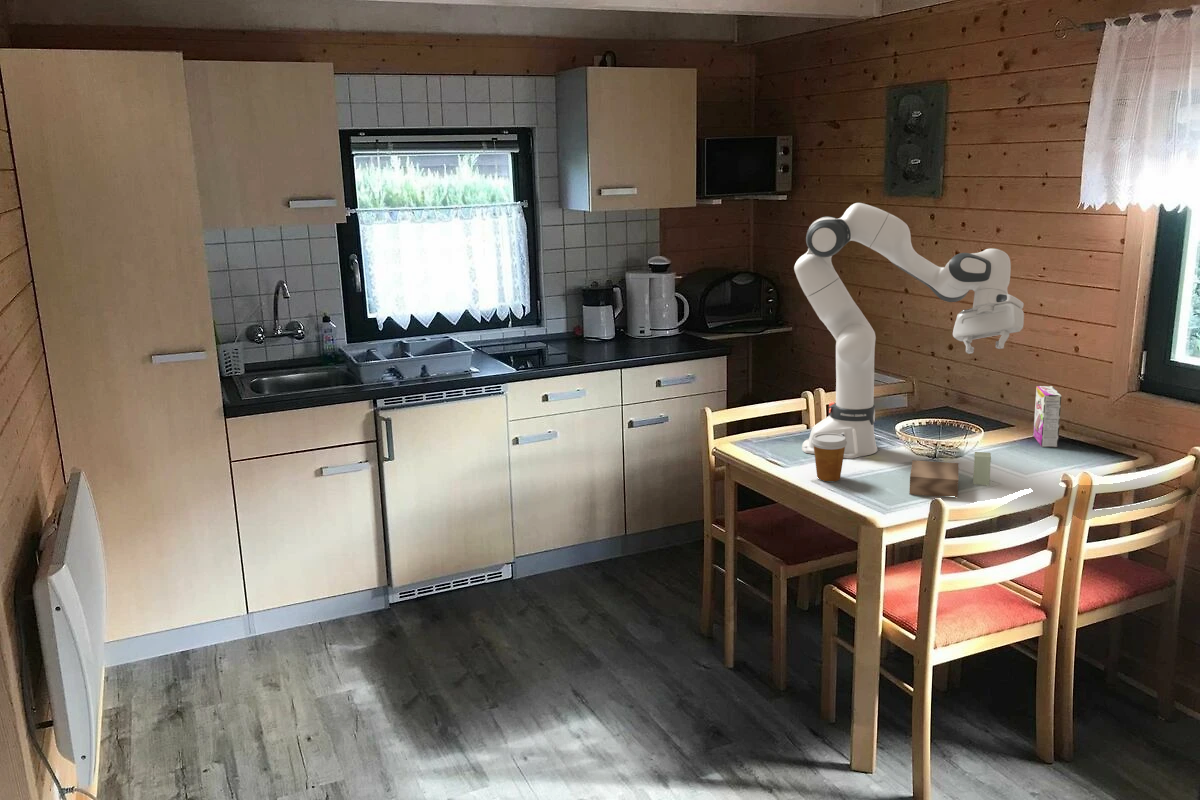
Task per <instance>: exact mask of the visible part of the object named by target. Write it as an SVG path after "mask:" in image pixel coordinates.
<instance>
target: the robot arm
mask: <svg viewBox="0 0 1200 800" xmlns="http://www.w3.org/2000/svg"><path fill="white" fill-rule="evenodd" d="M911 235H912V234H911V231H910V227H909V226H908V224H907V223H906V222H905V221H903V220H902V219H901V218H899V217H898V216H896V215H894V214H892V213H890V212H888V211H885V210H884V209H880V208H879V207H876V206H873V205H869V204H866V203H864V202H863V203H862V202H855V203H853V204H851V205H850V206H849V207H848V208H846V210H845V211H844V212H843V214H842V215H841V216H840V217H839V218H836V217H834V216H832V215H831V216H830V215H829V216H827V215H826V216H822V217H820V218H818V219H816V220H814V221H813V222H812V223H811V224H810V225H809V227H808V229H807V232H806V236H805V243H806V246H807V251H806V252H805V253H804V254H802V255H801V256H799V258H798V259H797V260H796V262H795V264H794V266H793V270H794V273H795V276H796V279H797V281H798V283H799V286H800V288H801V290H802V292H803V294H804V296H805V297H806V298H807V300H808V302H809V304H810V305H811V307H812V309H813V311H814V312H815V314H816V315H817V317H818V318H819V320H820V321H821V322H822V323H823V324H824V326H825V327H826V328H827V330H828V331H829V332H830V334H831V335H832V336H833V338H834V340H835V379H836V380H835V381H836V382H835V385H836V386H835V402H834V401H830V403H829V405H828V416H827V417H824V418H823V419H822V420H820V421H819V422H817V423H816V424H815V425H814V426H813V427H812V428H811V431H810V434H809V438H807V439H804V441H803V442H802V445H801V450H802V452H803V453H806V454H811V455H815V453H814V446H813V443H812V440H813V438H814V436H815V435H817V434H822V433H834V434H840V435H843V436H844V437H845V439H846V441H847V444H846V446H845V450H844V457H843V459H857V458H859V457H864V456H871V455H873V454H875V453H877V452H878V446H877V443H876V438H875V437H876V436H875V425H874V424H875V420H876V419H875V418H876V408H875V404H874V394H875V391H874V389H875V385H874V384H875V353H876V352H875V348H876V339H877V337H876V331H875V330H874V329H873V327H872V325H871V324H870V322H869V321H868V319H867V318H866V317H865V315H864V314H863V312H862V310H861V309H860V308H859V306H858V305H857V303H856V301H854V299H853V297H852V296H851V294H850V293H849V291H848V289H847V287H846V286H845V283H843V281H842V279H841V278H840V276H839V274H838V273H837V271H836V270H835V267H834V265H833V262H832V257H833V256H834V255H836V254H838V253H839V252H840V251H841V250H842V249H843V248H844V247H845V246H846V245H847V244H848V243H849V242H851V241H852V242H856V243H859V244H861V245H863V246H865V247H867V248H869V249H871V250H873V251H874V252H876V253H879V254H880V255H881V256H883V257H884V258H886V259H888V261H889V262H891V264H893V265H894V266H895V267H897V268H898V269H900V270H901V271H903V272H904V273H906V274H908V275H910V276H911V277H913V278H914V279H915V280H917V281H919V282H920V283H922V284H923V285H925V286H927V287H928V289H930V290H931V291H932V292H933V293H934V294H935V296H936V297H938V299H940V300H942V301H944V302H948V303H955V302H959V301H962V300H963V299H964V298H965V297H966V296H967V295H968V293H969V292H970V291H973V292H974V295H973V303H972V307H971V308H967V309H962V310H961V311H960V312H958V313H957V316H956V318H955V322H954V326H953V330H952V337H953V338H954V339H956V340H957V341H959V342H963V344H964V345H965V351H964V352H965V353H966V354H968V355H969V354H974V352H975V351H974V350H975V347H974V346H972V345H971V343H972V344H973V340H978V339H984V338H990V337H996V336H1000V337H999V339H998V340H996V341H995V345H994V346H995V348H996V349H998V350H1001V349H1005V343H1006V342H1007V341H1008V339H1009V337H1010V334H1013V333H1019V332H1021V331H1022V330H1023V328H1024V321H1025V313H1024V310H1023V308H1024V305H1025V304H1024V302H1023V301H1022V300H1021V299H1019V298H1017V297H1016V296H1014V295H1012V294H1009V291H1008V287H1009V285H1010V282H1011V281H1010V280H1011V275H1012V274H1011V273H1012V271H1011V268H1012V266H1011V265H1012V264H1011V258H1010V256H1009V255H1008V253H1006V252H1005V251H1004V250H1001V249H999V248H986V249H984V250H982V251H980V252H972V253H969V252H960V253H958V254H955V255H953V256H952V257H951V259H949V261H947V263H946V264H945V266H938V265H937V264H935V263H933V262H931V261H930V260H928V259H926V258H925V257H923V256H922V255H920V254H919V253H917V251H916V250H915V249H914V246H913V244H912V237H911Z"/></svg>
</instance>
